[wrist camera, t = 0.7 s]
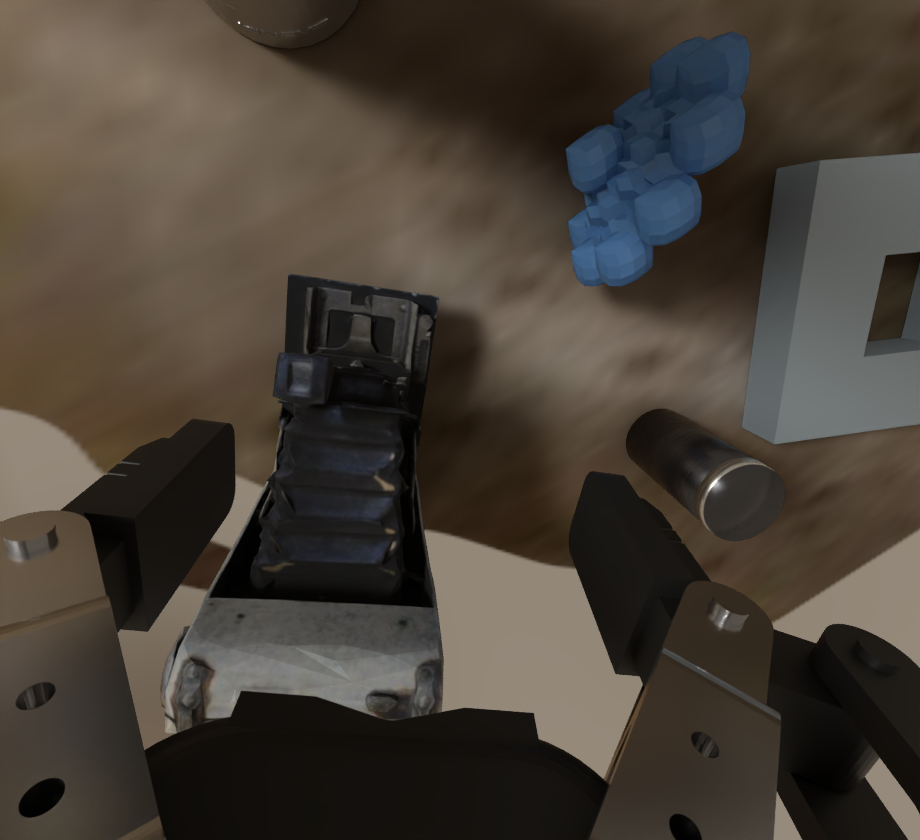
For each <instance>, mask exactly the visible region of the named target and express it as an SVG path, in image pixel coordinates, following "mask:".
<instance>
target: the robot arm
mask: <svg viewBox="0 0 920 840" xmlns="http://www.w3.org/2000/svg"><path fill="white" fill-rule="evenodd" d="M205 1H206V2H207V3H208V5H209V6H210V7H211V8H212V9H213V11H214V12H215V13H216V14H217V15H218V16H219V17H220V18H221V19H222V20H224V21H225V22H226V23H227V24H228V25H230V26H231V27H232V28H233V29H234V30H236V31H237V32H239V33H241V34H243V35H244V36H246V37H248V38H250V39H251V40H253V41H256V42H259V43H262V44H265V45H268V46H271V47H277V48H290V49H294V48H300V47H306V46H311V45H314V44H316V43H318V42H320V41H322V40H325V39H327V38H328V37H330V36H331V35H332V34H333V33H335V32H336V31H337V30H338V29H340V28H341V27H342V26H343V25H344V23H345V22H346V21H347V19H348V18H349V17H350V15H351V14H352V13H353V11H354V10H355V8H356V6H357V3H358V1H359V0H205ZM234 495H235V436H234V429H233V426H232V425H231V424H230V423H222V422H214V421H206V420H199V419H192V420H190V421H189V422H188V423H187V424H186V425H185V426H183V427H182V428H181V429H180V430H179V431H178V432H176V433H175V434H174V435H173V436H172V437H171V438H161V439H158V440H156V441H153V442H151V443H148V444H146V445H143V446H141V447H139V448H137V449H136V450H135V451H133V452H132V453H131V454H130V455H128V456H127V457H126V458H125V459H123V460H122V462H121V464H117V465H116V466H115V467H113V468H112V469H111V470H110V471H109V472H108V474H107V475H104V476H102V477H101V478H100V479H99V480H97V481H96V482H95V483H94V484H92V485H91V486H90V487H89V488H87V489H86V490H85V491H84V492H82V493H81V494H80V495H79V496H78V497H76V498H75V499H74V500H73V501H71V502H70V503H69V504H68V505H66V506H65V507H64V508H63V509H61V510H60V511H40V512H33V513H28V514H24V515H20V516H16V517H13V518H9V519H7V520H4V521H1V522H0V840H773V838H774V822H775V807H776V793H777V792H778V794H779V796H780V798H781V800H782V802H783V804H784V806H785V807H786V809H787V811H788V813H789V815H790V817H791V819H792V821H793V823H794V825H795V827H796V828H797V830H798V832H799V834H800V836H801V838H802V840H908V839H907V837H906V836H905V835H904V833H903V832H902V830H901V829H900V827H899V826H898V825H897V823H896V822H895V820H894V819H893V818H892V816H891V814H890V813H889V811H888V810H887V809H886V807H885V806H884V804H883V803H882V801H881V800H880V799H879V797H878V796H877V794H876V793H875V791H874V790H873V789H872V787H871V786H870V784H869V783H868V781H867V780H866V778H865V775H866V774H867V773H868V772H869V770H870V769H871V768H872V767H873V765H874V764H875V763H876V762H877V760H878V759H879V758H880V759H881V760H882V761H883V763H884V764H885V765H886V766H887V768H888V769H889V771H890V772H891V773H892V775H893V776H894V777H895V779H896V780H897V781H898V783H899V784H900V785H901V787H902V788H903V789H904V791H905V792H906V793H907V795H908V796H909V797H910V799H911V800H912V802H913V803H914V804H915V806H916V808H917V810H918V812H919V813H920V668H919V667H918V666H917V665H916V664H915V663H914V662H913V661H912V660H911V659H910V658H908V656H906V655H905V654H904V653H903V652H901V651H900V650H899V649H897V648H896V647H894V646H893V645H892V644H890V643H888V642H887V641H885V640H883V639H881V638H879V637H878V636H876V635H874V634H872V633H870V632H867V631H865V630H862V629H860V628H857V627H854V626H849V625H845V624H832V625H830V626H828V627H827V628H826V629H825V630H824V632H823V634H822V635H821V637H820V638H819V640H818V642H817V643H813V642H810V641H807V640H804V639H801V638H798V637H795V636H792V635H789V634H786V633H783V632H780V631H777V630H774V629H773V625H772V623H771V621H770V619H769V617H768V616H767V615H766V613H765V612H764V611H763V610H762V609H761V608H760V607H759V606H758V605H757V604H756V603H755V602H753V601H752V600H751V599H749V598H748V597H746V596H745V595H743V594H742V593H740V592H738V591H736V590H734V589H732V588H730V587H728V586H725V585H722V584H719V583H715V582H711V581H710V579H709V578H708V576H707V575H706V574H705V572H704V571H703V569H702V568H701V567H700V565H699V564H698V562H697V561H696V560H695V558H694V557H693V556H692V554H691V553H690V551H689V550H688V549H687V547H686V546H685V544H682V543H681V541H682V540H681V539H680V538H679V536H678V535H677V533H676V532H675V531H672V526H671V525H670V524H669V522H668V521H667V519H666V518H665V517H664V515H663V514H662V513H661V512H660V511H659V510H657V509H656V508H655V507H654V506H652V505H651V504H650V503H649V502H647V501H646V500H645V499H642V498H639V496H638V495H637V493H636V492H635V490H634V489H633V488H632V486H631V485H630V483H629V482H628V480H627V479H626V477H625V476H623V475H617V474H609V473H602V472H594V471H591V472H590V473H589V474H588V475H587V476H586V479H585V481H584V484H583V488H582V491H581V494H580V497H579V501H578V504H577V507H576V510H575V514H574V517H573V520H572V523H571V527H570V532H569V549H570V553H571V556H572V559H573V562H574V564H575V567H576V570H577V572H578V575H579V577H580V580H581V583H582V586H583V588H584V591H585V594H586V596H587V599H588V602H589V604H590V607H591V609H592V612H593V615H594V617H595V620H596V623H597V626H598V628H599V631H600V634H601V636H602V639H603V642H604V644H605V647H606V649H607V652H608V655H609V658H610V660H611V663H612V666H613V668H614V671H615V673H616V674H620V675H632V676H640V678H641V681H642V683H643V686H642V688H641V690H640V692H639V694H638V697H637V699H636V702H635V704H634V706H633V709H632V711H631V714H630V716H629V719H628V721H627V723H626V726H625V728H624V731H623V733H622V736H621V738H620V741H619V743H618V746H617V748H616V750H615V753H614V756H613V758H612V760H611V763H610V765H609V768H608V770H607V772H606V775H605V777H604V779H602V778H601V777H600V776H599V775H598V774H597V773H596V772H595V771H593V770H592V769H591V768H590V767H588V766H587V765H586V764H584V763H583V762H582V761H580V760H579V759H577V758H576V757H574V756H572V755H571V754H569V753H567V752H566V751H564V750H562V749H560V748H558V747H556V746H554V745H552V744H550V743H548V742H545V741H542V740H539V739H538V734H537V729H536V723H535V718H534V713H525V712H512V711H500V710H486V709H474V708H461V709H456V710H451V711H445V712H439V713H434V714H428V715H423V716H417V717H412V718H406V719H401V720H385V719H381V718H378V717H375V716H372V715H370V714H367V713H364V712H361V711H358V710H355V709H352V708H349V707H346V706H343V705H340V704H337V703H334V702H331V701H328V700H325V699H322V698H320V697H317V696H305V695H292V694H279V693H266V692H253V691H241V692H240V695H239V697H238V700H237V702H236V704H235V707H234V709H233V712H232V714H231V717H226V718H221V719H216V720H213V721H209V722H206V723H202V724H199V725H196V726H193V727H191V728H188V729H186V730H183V731H181V732H178V733H176V734H174V735H172V736H170V737H168V738H166V739H164V740H162V741H160V742H158V743H156V744H154V745H152V746H151V747H149V748H147V749H146V750H144V747H143V743H142V739H141V734H140V730H139V726H138V721H137V717H136V712H135V708H134V704H133V699H132V695H131V691H130V686H129V682H128V677H127V673H126V669H125V664H124V660H123V656H122V651H121V647H120V643H119V638H118V634H117V633H118V632H119V630H120V629H123V630H135V631H146V632H147V631H149V629H150V628H151V626H152V625H153V623H154V622H155V620H156V619H157V617H158V616H159V614H160V613H161V612H162V610H163V609H164V607H165V606H166V604H167V603H168V601H169V600H170V598H171V597H172V595H173V594H174V592H175V591H176V590H177V588H178V587H179V585H180V584H181V582H182V581H183V579H184V578H185V576H186V575H187V574H188V572H189V571H190V569H191V568H192V566H193V565H194V563H195V562H196V560H197V559H198V557H199V556H200V555H201V553H202V552H203V550H204V549H205V547H206V546H207V544H208V543H209V541H210V540H211V538H212V537H213V535H214V534H215V533H216V531H217V530H218V528H219V527H220V525H221V524H222V522H223V521H224V519H225V518H226V516H227V515H228V513H229V511H230V509H231V507H232V504H233V500H234Z"/></svg>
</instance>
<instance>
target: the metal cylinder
mask: <svg viewBox="0 0 920 840" xmlns="http://www.w3.org/2000/svg"><path fill="white" fill-rule="evenodd" d="M626 449H627V453H628V455H629V457H630V458H631V459H632V460H633V461H634V462H635V463H636V464H637V465H638V466H639V467H640V468H641V469H642V470H644V471H645V472H646V473H647V474H648V475H649V476H650V477H651V478H653V479H654V480H655V481H656V482H657V483H658V484H659V485H660V486H662V487H663V488H664V489H665V490H666V491H667V492H668V493H669V494H670V495H672V496H673V497H674V498H675V499H676V500H677V501H678V502H679V503H681V504H682V505H683V506H684V507H685V508H686V509H687V510H688V511H690V512H691V513H692V514H693V515H694V516H695V517H696V518H697V519H698V520H699V521H700V522H701V523H702V524H703V525H704V526H705V527H706V528H707V529H708V530H709V531H711V532H712V533H713V534H715V535H717V536H718V537H720V538H722V539H725V540H730V541H739V540H745V539H748V538H751V537H753V536H756V535H757V534H759V533H761V532H762V531H764V530H765V529H766V528H767V527H769V526H770V525H771V524H772V523H773V521H774V520H775V519H776V518H777V516H778V515H779V513H780V511H781V509H782V507H783V504H784V500H785V486H784V483H783V481H782V479H781V477H780V476H779V475H778V474H777V473H776V472H775V471H774V470H773V469H771V468H770V467H768V466H766V465H765V464H763V463H761V462H760V461H758V460H755V459H753V458H751V457H750V456H748V455H746V454H744V453H743V452H741V451H739V450H738V449H736V448H734V447H733V446H731V445H729V444H728V443H726V442H724V441H723V440H721V439H719V438H718V437H716V436H714V435H713V434H711V433H709V432H707V431H706V430H704V429H702V428H701V427H699V426H697V425H696V424H694V423H692V422H691V421H689V420H687V419H686V418H684V417H682V416H681V415H679V414H677V413H676V412H674V411H671V410H668V409H655V410H652V411H649V412H647V413H645V414H643V415H642V416H641V417H639V418H638V419H637V420H636V421H635V422H634V423H633V425H632V426H631V428H630V430H629V432H628V435H627V439H626Z"/></svg>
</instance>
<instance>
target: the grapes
mask: <svg viewBox="0 0 920 840" xmlns="http://www.w3.org/2000/svg"><path fill="white" fill-rule="evenodd" d="M749 62H750V50H749V47H748V43H747V40H746V37H744V36H742V35H740V34H737V33H735V32H729V33H726V34H723V35H720V36H717V37H714V38H713V39H711V40H709V41H708V40H706V39H704V38H702V37H700V36H699V37H696V38H693V39H689V40H686V41H684V42H682V43H680V44H678V45H677V46H675V47H674V48H673V49H671V50H670V51H668V52H667V53H665V54H664V55H663V56H661V57H660V58H659V59H658V60H657V61H655V62H654V63H653V64H652V65H651V70H650V88H649V89H645V90H642V91H640V92H638V93H637V94H635V95H634V96H632V97H631V98H629V99H628V100H626V101H625V102H623V103H622V104H621V105H620V106H619V107H618V108H616V109H615V110H614V111H613V124H614V126H612V125H611V124H606V125H602V126H598V127H596V128H594V129H592V130H591V131H589V132H588V133H586V134H585V135H583V136H582V137H580V138H579V139H577V140H576V141H575V142H574V143H572V144H571V145H570V146H569V147H568V148H566V155H567V163H568V171H569V176H570V178H571V181H572V184H573V186H574V187H576V188H577V189H578V190H580V191H581V192H582V193H584V198H585V205H586V208H585V209H584V210H582V211H581V212H579V213H578V214H577V215H575V216H574V217H573V218H572V219H571V220H569V221H568V226H569V233H570V239H571V242H572V245H573V247H574V250H573V251H572V252H571V254H572V262H573V268H574V272H575V274H576V277H577V280H579V281H580V282H581V283H582V284H583V285H584V286H599V285H601V284H604V283H606V284H607V285H608V286H625V285H627V284H630V283H632V282H634V281H636V280H637V279H639V278H640V277H641V276H643V275H644V274H645V273H647V272H648V271H649V270H650V269H651V268H652V267H653V260H654V253H653V246H662V245H667V244H669V243H671V242H673V241H675V240H677V239H679V238H681V237H682V236H684V235H685V234H686V233H687V232H689V231H690V230H691V229H693V228H694V227H695V226H696V225H697V224H698V223H699V220H700V216H701V206H702V195H701V192H700V189H699V186H698V183H697V180H695V179H693V178H692V176H694V175H701V174H704V173H706V172H708V171H709V170H711V169H713V168H715V167H717V166H719V165H720V164H721V163H723V162H724V161H725V160H727V159H728V158H729V157H730V156H732V155H733V154H734V153H735V152H736V151H738V150H739V148H740V145H741V141H742V138H743V133H744V124H745V114H746V112H745V109H744V106H743V103H742V99H741V97H740V96H741V95H742V94H744V91H745V87H746V83H747V79H748V72H749Z"/></svg>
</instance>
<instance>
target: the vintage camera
mask: <svg viewBox="0 0 920 840" xmlns="http://www.w3.org/2000/svg"><path fill="white" fill-rule="evenodd" d="M438 304H439V297H438V296H432V295H425V294H419V293H412V292H405V291H398V290H392V289H385V288H379V287H373V286H366V285H360V284H354V283H347V282H341V281H334V280H328V279H322V278H316V277H309V276H302V275H295V274H288V290H287V310H286V334H285V353H279V354H278V359H277V365H276V374H275V383H274V391H273V396H274V397H277V398H279V399H282V400H283V401H279V400H278V403H282V409H281V412H280V416H279V420H278V430H279V437H278V442H277V450H276V460H275V467H274V470H273V472H272V474H271V476H270V478H269V479H268V480H267V483H266V485H265V486H264V488H263V490H262V492H261V494H260V496H259V498H258V500H257V502H256V504H255V506H254V508H253V510H252V512H251V514H250V516H249V518H248V519H247V521H246V524H245V525H244V527H243V529H242V531H241V533H240V535H239V536H238V538H237V540H236V542H235V544H234V545H233V547H232V549H231V551H230V553H229V554H228V556H227V558H226V560H225V562H224V563H223V565H222V567H221V569H220V570H219V572H218V574H217V576H216V578H215V579H214V581H213V583H212V585H211V587H210V588H209V590H208V592H207V594H206V596H205V598H204V600H203V602H202V604H201V606H200V608H199V610H198V612H197V614H196V616H195V618H194V620H193V622H192V624H191V626H187V627H184V628H183V630H182V631H181V633H180V635H179V636H178V638H177V640H176V642H175V644H174V646H173V648H172V649H171V651H170V653H169V655H168V657H167V660H166V663H165V667H164V670H163V673H162V680H161V689H160V698H161V704H162V706H163V707H164V708H165V733H171V734H176V733H178V732H181V731H183V730H186V729H188V728H191V727H193V726H196V725H199V724H202V723H206V722H209V721H213V720H216V719H221V718H226V717H231V714H232V712H233V709H234V707H235V704H236V702H237V700H238V697H239V695H240V692H241V691H253V692H266V693H279V694H292V695H305V696H317V697H320V698H322V699H325V700H328V701H331V702H334V703H337V704H340V705H343V706H346V707H349V708H352V709H355V710H358V711H361V712H364V713H367V714H370V715H372V716H375V717H378V718H381V719H385V720H401V719H406V718H412V717H417V716H423V715H428V714H434V713H439V712H442V694H443V663H444V659H443V650H442V641H441V633H440V625H439V617H438V609H437V602H436V593H435V587H434V581H433V577H432V573H431V568H430V563H429V557H428V551H427V545H426V539H425V534H424V524H423V519H422V512H421V504H420V496H419V486H418V481H417V475H416V459H417V447H418V445H419V442H420V435H421V427H420V422H421V415H422V408H423V402H424V396H425V390H426V383H427V377H428V371H429V365H430V357H431V350H432V342H433V336H434V329H435V323H436V316H437V310H438Z"/></svg>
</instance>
